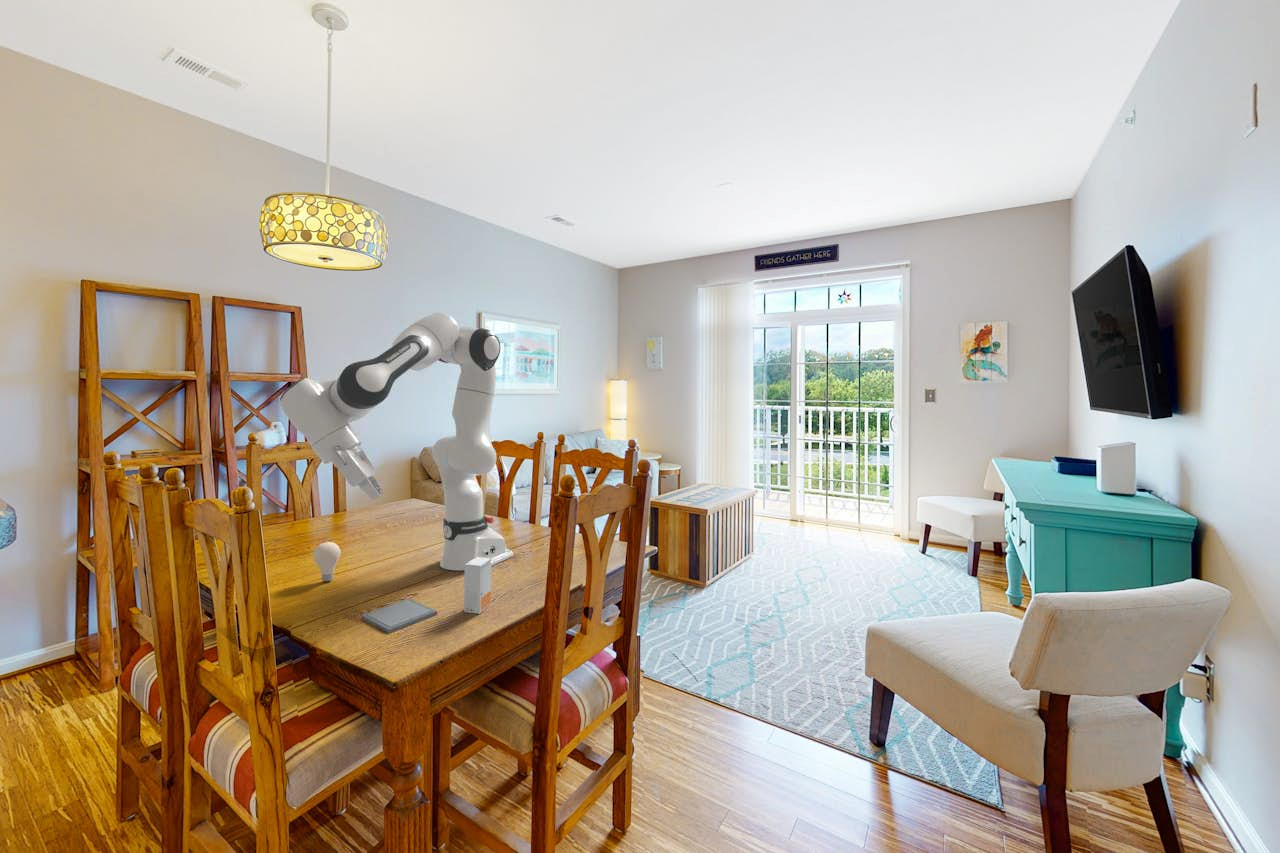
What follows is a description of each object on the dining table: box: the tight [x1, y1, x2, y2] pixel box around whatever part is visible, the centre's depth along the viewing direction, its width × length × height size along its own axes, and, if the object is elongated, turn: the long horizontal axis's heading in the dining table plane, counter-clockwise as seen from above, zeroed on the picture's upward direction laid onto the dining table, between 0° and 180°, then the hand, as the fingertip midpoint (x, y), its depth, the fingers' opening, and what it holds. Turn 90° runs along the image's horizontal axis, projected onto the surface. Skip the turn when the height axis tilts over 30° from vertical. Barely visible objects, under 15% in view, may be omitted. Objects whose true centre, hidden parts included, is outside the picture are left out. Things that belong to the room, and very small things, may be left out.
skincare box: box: [463, 557, 492, 615], centre depth 128 cm, size 6×4×12 cm
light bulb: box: [312, 541, 342, 582], centre depth 144 cm, size 7×7×11 cm
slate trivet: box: [360, 598, 438, 634], centre depth 124 cm, size 12×12×1 cm
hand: (378, 496), depth 119 cm, fingers open, 8 cm apart
